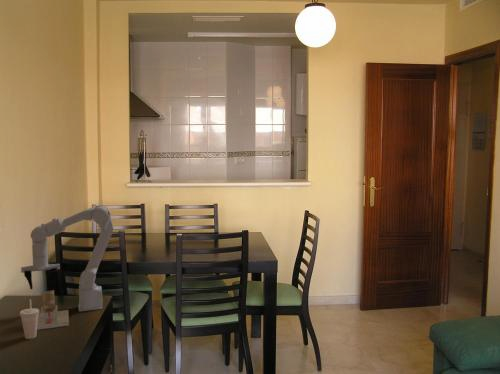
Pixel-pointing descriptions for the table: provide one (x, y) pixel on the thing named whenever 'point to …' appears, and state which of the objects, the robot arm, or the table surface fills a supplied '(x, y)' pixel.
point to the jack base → (52, 318)
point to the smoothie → (30, 321)
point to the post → (48, 300)
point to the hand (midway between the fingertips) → (41, 287)
